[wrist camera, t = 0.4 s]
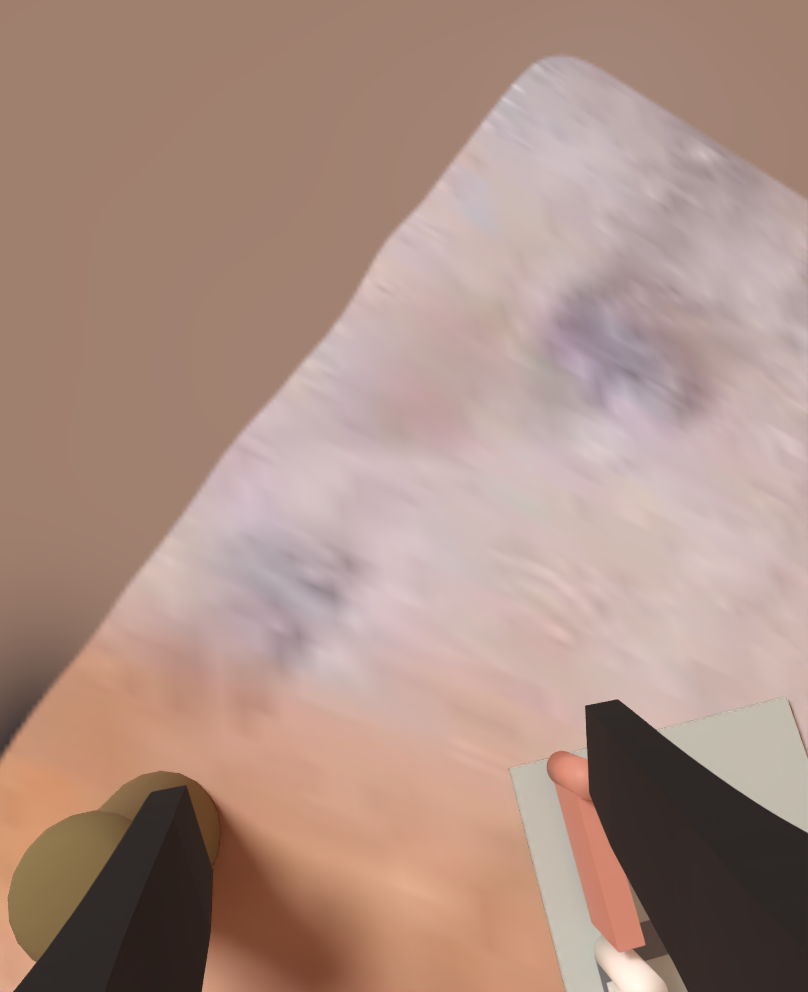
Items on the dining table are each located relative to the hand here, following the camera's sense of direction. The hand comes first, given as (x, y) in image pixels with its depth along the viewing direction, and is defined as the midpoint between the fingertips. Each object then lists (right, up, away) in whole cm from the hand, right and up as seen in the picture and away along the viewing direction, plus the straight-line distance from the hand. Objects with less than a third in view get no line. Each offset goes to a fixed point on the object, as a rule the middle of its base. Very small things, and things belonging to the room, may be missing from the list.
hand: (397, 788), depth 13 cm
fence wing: (+9, -11, +23) cm, 27 cm away
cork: (-12, -11, +23) cm, 28 cm away
